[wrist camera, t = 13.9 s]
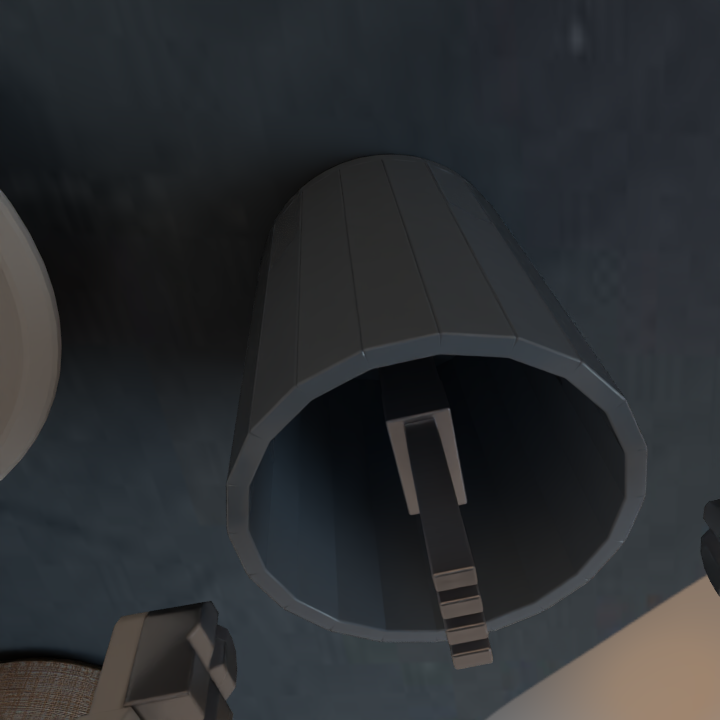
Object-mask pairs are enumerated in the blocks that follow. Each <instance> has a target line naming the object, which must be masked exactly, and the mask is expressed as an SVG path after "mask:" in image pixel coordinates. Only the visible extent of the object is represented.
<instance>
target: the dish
mask: <svg viewBox="0 0 720 720" xmlns="http://www.w3.org/2000/svg"><path fill="white" fill-rule="evenodd" d="M61 349H62V343H61V329H60V318H59V313H58V308H57V304H56V299H55V294H54V290H53V287H52V284H51V281H50V278H49V276H48V273H47V270H46V267H45V264H44V261H43V259H42V257H41V255H40V253H39V251H38V249H37V247H36V245H35V243H34V241H33V239H32V237H31V235H30V233H29V231H28V229H27V228H26V226H25V224H24V223H23V221H22V220H21V218H20V216H19V215H18V213H17V212H16V210H15V208H14V207H13V205H12V204H11V202H10V201H9V200H8V198H7V197H6V196H5V194H4V193H3V192H2V190H1V189H0V481H1V480H2V479H3V478H4V477H5V476H6V475H7V474H8V473H9V472H10V471H11V470H12V469H13V468H14V467H15V466H16V464H17V463H18V462H19V461H20V460H21V459H22V458H23V456H24V455H25V454H26V452H27V451H28V450H29V448H30V447H31V445H32V444H33V443H34V441H35V440H36V438H37V436H38V434H39V433H40V431H41V429H42V427H43V425H44V423H45V421H46V420H47V417H48V414H49V412H50V409H51V406H52V403H53V401H54V398H55V394H56V389H57V385H58V380H59V375H60V364H61Z"/></svg>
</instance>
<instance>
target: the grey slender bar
mask: <svg viewBox="0 0 720 720" xmlns="http://www.w3.org/2000/svg"><path fill="white" fill-rule="evenodd" d="M378 370H379V376H380V382H381V389H382V394H381V397H382V404H383V410H384V417H385V423H386V427H387V431H388V435H389V439H390V443H391V447H392V450H393V454H394V458H395V462H396V466H397V470H398V474H399V478H400V482H401V486H402V490H403V494H404V498H405V502H406V506H407V509H408V513H409V514H410V515H415V514H419V513H420V517H421V522H422V527H423V532H424V538H425V543H426V548H427V553H428V558H429V564H430V569H431V574H432V579H433V583H434V587H435V590H436V592H437V598H438V603H439V607H440V611H441V615H442V617H443V621H444V627H445V632H446V636H447V640H448V643H449V646H450V651H451V656H452V660H453V664H454V667H455V669H462V668H467V667H472V666H478V665H483V664H488V663H492V662H493V657H492V651H491V647H490V643H489V639H488V631H487V626H486V621H485V617H484V613H483V605H482V600H481V595H480V591H479V587H478V584H477V582H478V579H477V574H476V569H475V565H474V561H473V557H472V553H471V550H470V546H469V542H468V538H467V535H466V531H465V527H464V523H463V520H462V516H461V512H460V509H459V505H463V504H466V503H467V501H468V500H467V495H466V490H465V484H464V479H463V474H462V468H461V463H460V458H459V452H458V447H457V442H456V436H455V431H454V426H453V420H452V415H451V410H450V406H449V403H448V400H447V396H446V393H445V390H444V387H443V383H442V381H441V380H440V379H439V375H438V372H437V369H436V366H435V362H434V359H433V356H430V357H425V358H420V359H416V360H411V361H407V362H402V363H397V364H393V365H388V366H384V367H379V368H378Z"/></svg>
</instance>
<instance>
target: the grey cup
mask: <svg viewBox="0 0 720 720" xmlns="http://www.w3.org/2000/svg"><path fill="white" fill-rule="evenodd" d="M430 356H433V359H434V362H435V366H436V369H437V372H438V375H439V379H440V380H441V381H442V383H443V387H444V390H445V393H446V396H447V400H448V403H449V406H450V410H451V415H452V420H453V426H454V431H455V436H456V442H457V447H458V452H459V458H460V463H461V468H462V474H463V479H464V484H465V490H466V495H467V500H468V501H467V503H466V504H463V505H459V509H460V512H461V516H462V520H463V523H464V527H465V531H466V535H467V538H468V542H469V546H470V550H471V553H472V557H473V561H474V565H475V569H476V574H477V579H478V582H477V584H478V587H479V591H480V595H481V600H482V605H483V613H484V617H485V621H486V626H487V631H488V632H491V630H492V631H495V630H498V629H500V628H503V627H505V626H508V625H510V624H513V623H515V622H518V621H520V620H523V619H525V618H528V617H530V616H533V615H535V614H538V613H540V612H543V610H546V609H548V608H549V607H551V606H552V605H554V604H555V603H557V602H558V601H560V600H561V599H563V598H564V597H566V596H567V595H569V594H570V593H572V592H573V591H575V590H576V589H578V588H579V587H581V586H582V585H584V584H585V583H587V582H588V581H589V580H590V579H592V578H593V577H594V575H595V574H596V573H597V572H598V571H599V570H600V569H601V568H602V567H603V565H604V564H605V563H606V562H607V561H608V560H609V559H610V558H611V557H612V556H613V554H614V553H615V552H616V551H617V550H618V549H619V548H620V547H621V546H622V544H623V543H624V541H625V540H626V539H627V536H628V534H629V532H630V530H631V528H632V525H633V523H634V521H635V519H636V516H637V514H638V512H639V510H640V508H641V505H642V503H643V501H644V499H645V495H646V472H647V447H646V446H647V445H646V442H645V440H644V437H643V435H642V433H641V431H640V428H639V426H638V424H637V422H636V419H635V417H634V415H633V413H632V410H631V408H630V406H629V404H628V401H627V400H626V398H625V397H624V395H623V394H622V393H621V391H620V390H619V388H618V387H617V385H616V384H615V382H614V381H613V380H612V378H611V377H610V375H609V374H608V372H607V371H606V369H605V368H604V367H603V365H602V364H601V362H600V361H599V359H598V358H597V356H596V355H595V354H594V352H593V351H592V349H591V348H590V346H589V345H588V343H587V342H586V341H585V339H584V338H583V336H582V335H581V333H580V332H579V330H578V329H577V328H576V326H575V325H574V323H573V322H572V320H571V319H570V317H569V316H568V315H567V313H566V312H565V310H564V309H563V307H562V306H561V304H560V303H559V302H558V300H557V299H556V297H555V296H554V294H553V293H552V291H551V290H550V289H549V287H548V286H547V284H546V283H545V281H544V280H543V278H542V277H541V276H540V274H539V273H538V271H537V270H536V268H535V267H534V265H533V264H532V263H531V261H530V260H529V258H528V257H527V255H526V254H525V252H524V251H523V250H522V248H521V247H520V245H519V244H518V242H517V241H516V239H515V238H514V237H513V235H512V234H511V232H510V231H509V229H508V228H507V226H506V225H505V224H504V222H503V221H502V219H501V218H500V216H499V215H498V213H497V212H496V211H495V209H494V208H493V206H492V205H491V204H490V203H489V202H488V201H487V200H486V199H485V198H484V196H483V195H482V194H481V193H480V192H479V191H478V190H477V189H476V188H475V187H474V186H473V185H472V184H471V183H470V182H468V181H467V180H466V179H464V178H463V177H462V176H461V175H459V174H457V173H456V172H454V171H452V170H450V169H449V168H447V167H445V166H443V165H440V164H437V163H435V162H432V161H430V160H426V159H422V158H418V157H414V156H406V155H395V154H392V155H374V156H368V157H362V158H358V159H354V160H351V161H348V162H345V163H341V164H339V165H337V166H335V167H333V168H331V169H328V170H326V171H325V172H323V173H321V174H320V175H318V176H317V177H315V178H313V179H312V180H310V181H309V182H308V183H307V184H306V185H304V186H303V187H302V188H301V189H300V190H298V191H297V192H296V193H295V195H294V196H293V197H292V198H291V199H290V200H289V201H288V202H287V203H286V205H285V206H284V208H283V209H282V210H281V212H280V213H279V215H278V216H277V218H276V220H275V222H274V224H273V226H272V228H271V230H270V232H269V235H268V238H267V241H266V244H265V247H264V252H263V255H262V258H261V262H260V268H259V274H258V281H257V287H256V294H255V300H254V307H253V313H252V320H251V326H250V333H249V339H248V346H247V352H246V359H245V365H244V372H243V378H242V385H241V391H240V398H239V404H238V411H237V417H236V424H235V430H234V437H233V443H232V450H231V456H230V463H229V469H228V476H227V482H226V516H227V532H228V536H229V538H230V540H231V542H232V544H233V546H234V548H235V551H236V553H237V555H238V557H239V559H240V561H241V563H242V565H243V567H244V569H245V572H246V574H247V575H248V576H249V578H250V579H251V580H253V581H254V582H255V583H256V584H257V585H258V586H259V587H260V588H261V589H262V590H263V591H264V592H265V593H266V594H268V595H269V596H270V597H271V598H272V599H273V600H274V601H275V602H276V603H277V604H278V605H279V606H280V607H282V608H284V609H285V610H287V611H289V612H291V613H293V614H295V615H297V616H299V617H301V618H303V619H305V620H307V621H309V622H311V623H313V624H315V625H318V626H320V627H322V628H324V629H326V630H330V631H331V632H336V633H341V634H346V635H350V636H355V637H360V638H364V639H369V640H374V641H378V642H380V641H382V642H436V641H437V642H441V641H446V640H447V636H446V632H445V627H444V621H443V617H442V615H441V611H440V607H439V603H438V598H437V592H436V590H435V587H434V583H433V579H432V574H431V569H430V564H429V558H428V553H427V548H426V543H425V538H424V532H423V527H422V522H421V517H420V513H419V514H415V515H410V514H409V513H408V509H407V506H406V502H405V498H404V494H403V490H402V486H401V482H400V478H399V474H398V470H397V466H396V462H395V458H394V454H393V450H392V447H391V443H390V439H389V435H388V431H387V427H386V423H385V417H384V410H383V404H382V397H381V394H382V389H381V382H380V376H379V370H378V368H379V367H384V366H388V365H393V364H397V363H402V362H407V361H411V360H416V359H420V358H425V357H430Z"/></svg>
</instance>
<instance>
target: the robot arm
mask: <svg viewBox="0 0 720 720" xmlns="http://www.w3.org/2000/svg"><path fill="white" fill-rule="evenodd" d="M703 519H704V520H705V522H706V523H707V525H708V526H709V528H710V529H709V530H708V531H707V532H706V533H705V534H704V535H703V536H702V537H701V556H702V560H703V564H704V569H705V571H706V573H707V575H708V577H709V580H710V582H711V583H712V585H713V587H714V589H715V590H716V592H717V594H718V595H719V596H720V499H718V500H714V501H709V502H708V503H707V505H706V506H705V508H704V516H703ZM218 614H219V613H218V611H217V610H216V608H215V606H214V605H213V603H212V601H209V602H202V603H196V604H190V605H184V606H178V607H172V608H166V609H160V610H155V611H149V612H144V613H138V614H133V615H128V616H122V617H121V618H120V619H119V620H118V622H117V623H116V625H115V626H114V629H113V632H112V636H111V639H110V643H109V646H108V650H107V653H106V657H105V660H104V663H103V667H102V670H101V674H100V677H99V681H98V684H97V687H96V691H95V694H94V698H93V701H92V705H91V708H90V711H89V714H87V715H83V716H80V717H79V718H78V719H77V720H232V718H233V713H232V711H231V709H230V708H229V706H228V704H227V703H226V700H227V698H228V697H229V695H230V694H231V693H232V691H233V690H234V688H235V687H236V677H237V662H236V650H235V647H234V643H233V640H232V637H231V635H230V633H229V631H228V630H227V629H226V628H224V627H222V626H220V625H218V624H217V622H218Z"/></svg>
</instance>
